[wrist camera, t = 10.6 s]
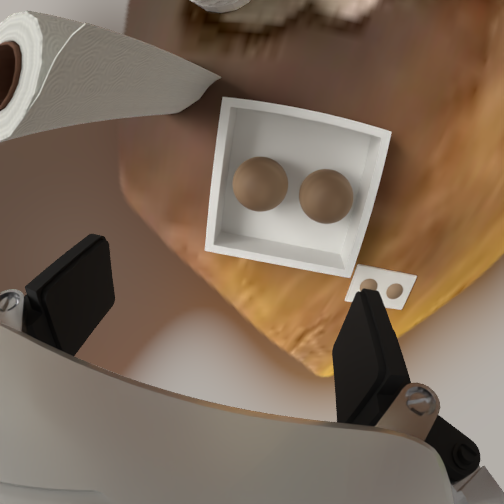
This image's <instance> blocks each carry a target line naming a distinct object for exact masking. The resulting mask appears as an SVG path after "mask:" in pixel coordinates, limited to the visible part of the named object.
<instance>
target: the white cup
mask: <svg viewBox="0 0 504 504" xmlns="http://www.w3.org/2000/svg"><path fill="white" fill-rule="evenodd" d="M190 1H192V2H194V3H195V4H197V5H198V6H200V7H201V8H203V9H204V10H206V11H210V12H217V13H224V12H229V11H234V10H237V9H239V8H240V7H242V6H244V5H246V4H247V3H249V2H250V0H190Z"/></svg>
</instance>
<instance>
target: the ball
mask: <svg viewBox="0 0 504 504" xmlns="http://www.w3.org/2000/svg"><path fill="white" fill-rule="evenodd" d="M299 202H300V205H301V208H302V210H303V211H304V213H305V214H306V215H307V216H308V217H309V218H310V219H312V220H314V221H316V222H318V223H322V224H331V223H335V222H338V221H340V220H341V219H343V218H344V217H345V216H346V215H347V214H348V213H349V211H350V209H351V207H352V204H353V190H352V187H351V185H350V183H349V181H348V180H347V179H346V177H345V176H343V175H342V174H341V173H339V172H337V171H335V170H331V169H320V170H317V171H314V172H312V173H311V174H309V175H308V176H307V177H306V178H305V179H304V180H303V182H302V184H301V186H300V190H299Z"/></svg>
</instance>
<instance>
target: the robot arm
mask: <svg viewBox="0 0 504 504" xmlns="http://www.w3.org/2000/svg"><path fill="white" fill-rule="evenodd" d="M25 289H26V292H27V295H25V296H24V295H23V294H22V292H20V291H19V290H15V289H10V290H6V291H3V292H1V293H0V504H504V492H503V491H502V489H501V488H500V487H499V485H498V484H497V482H496V481H495V480H494V478H493V477H492V476H491V474H490V473H489V472H488V470H487V469H486V467H485V466H482V467H481V468H480V466H479V462H480V453H479V449H478V447H477V446H476V444H475V443H474V442H473V441H472V440H470V439H469V438H468V437H467V436H465V435H464V434H463V433H461V432H460V431H459V430H457V429H456V428H455V427H453V426H452V425H451V424H449V423H448V422H447V421H445V420H444V419H443V418H441V417H440V416H439V415H438V413H439V409H440V402H439V399H438V397H437V395H436V394H435V392H434V391H433V390H432V389H430V388H429V387H428V386H426V385H424V384H420V383H411V381H410V378H409V374H408V371H407V368H406V365H405V361H404V359H403V355H402V352H401V349H400V346H399V343H398V340H397V337H396V334H395V332H394V330H393V328H392V325H391V323H390V320H389V317H388V314H387V311H386V309H385V306H384V303H383V301H382V298H381V295H380V293H379V291H376V290H371V289H365V288H364V289H362V291H361V292H359V291H358V292H357V293H356V294H355V297H354V299H353V302H352V304H351V307H350V309H349V311H348V314H347V316H346V319H345V321H344V323H343V326H342V328H341V330H340V332H339V335H338V337H337V339H336V341H335V344H334V346H333V351H332V356H333V367H334V380H335V393H336V409H337V422H327V421H318V420H309V419H302V418H294V417H287V416H280V415H274V414H267V413H262V412H256V411H250V410H245V409H240V408H235V407H230V406H226V405H221V404H217V403H213V402H208V401H204V400H200V399H196V398H192V397H189V396H185V395H181V394H178V393H174V392H171V391H167V390H164V389H161V388H158V387H154V386H151V385H148V384H145V383H142V382H139V381H136V380H133V379H130V378H127V377H124V376H122V375H119V374H116V373H113V372H111V371H108V370H106V369H103V368H100V367H98V366H95V365H93V364H90V363H88V362H86V361H83V360H81V359H78V358H76V357H74V356H75V354H76V353H77V352H78V350H79V349H80V347H81V346H82V345H83V343H84V342H85V341H86V339H87V338H88V337H89V335H90V334H91V333H92V332H93V330H94V328H96V326H97V325H98V324H99V322H100V321H101V320H102V319H103V317H104V316H105V315H106V314H107V312H108V311H109V309H111V307H112V306H113V304H114V301H115V295H114V287H113V279H112V270H111V261H110V250H109V243H108V241H106V239H105V237H104V236H100V235H96V234H90V235H88V236H87V237H86V238H84V239H83V240H82V241H80V242H79V243H78V244H76V245H75V246H74V247H73V248H71V249H70V250H69V251H67V252H66V253H65V254H64V255H62V256H61V257H60V258H59V259H57V260H56V261H55V262H54V263H52V264H51V265H50V266H49V267H48V268H46V269H45V270H44V271H43V272H42V273H40V274H39V275H38V276H37V277H36V278H35V279H33V280H32V281H31V282H30V283H29V284H28V285H26V286H25Z"/></svg>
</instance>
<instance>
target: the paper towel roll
mask: <svg viewBox="0 0 504 504" xmlns="http://www.w3.org/2000/svg"><path fill="white" fill-rule="evenodd" d="M220 78H222V77H220V76H218V75H216V74H214V73H212V72H210V71H208V70H206V69H204V68H202V67H200V66H198V65H196V64H194V63H192V62H190V61H187V60H185V59H183V58H181V57H179V56H176V55H174V54H172V53H169V52H167V51H165V50H162V49H160V48H157V47H155V46H152V45H150V44H147V43H145V42H142V41H140V40H137V39H134V38H131V37H129V36H126V35H123V34H120V33H117V32H114V31H111V30H108V29H105V28H102V27H99V26H95V25H92V24H88V23H81V22H77V21H74V20H69V19H65V18H61V17H57V16H52V15H48V14H42V13H37V12H32V11H24V12H20V13H15V14H12V15H10V16H9V17H8V18H6V19H5V20H4V21H3V22H2V23H0V142H2V141H6V140H9V139H13V138H17V137H21V136H25V135H28V134H33V133H37V132H41V131H46V130H51V129H55V128H60V127H65V126H71V125H77V124H83V123H89V122H96V121H103V120H110V119H118V118H127V117H137V116H149V115H163V114H173V113H179V112H180V111H182V110H184V109H185V108H187V107H189V106H190V105H191V104H193V103H194V102H196V101H197V100H199V99H200V98H201V96H202V95H203V94H204V92H205V91H206V89H207V88H208V87H209V86H210V85H211V84H212V83H213V82H215V81H216V80H218V79H220Z"/></svg>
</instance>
